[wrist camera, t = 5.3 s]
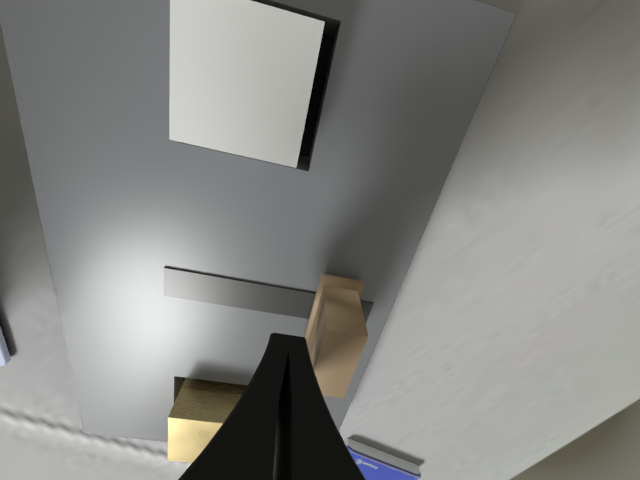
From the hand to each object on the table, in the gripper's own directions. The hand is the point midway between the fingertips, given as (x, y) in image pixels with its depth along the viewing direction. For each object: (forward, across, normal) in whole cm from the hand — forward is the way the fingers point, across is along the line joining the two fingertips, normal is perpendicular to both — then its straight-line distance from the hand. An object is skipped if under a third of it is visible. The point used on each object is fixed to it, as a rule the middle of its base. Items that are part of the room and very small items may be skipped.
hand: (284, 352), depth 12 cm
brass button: (+4, +3, +9) cm, 10 cm away
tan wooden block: (+3, -2, 0) cm, 3 cm away
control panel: (+6, +3, 0) cm, 7 cm away
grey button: (+4, +3, -9) cm, 10 cm away
